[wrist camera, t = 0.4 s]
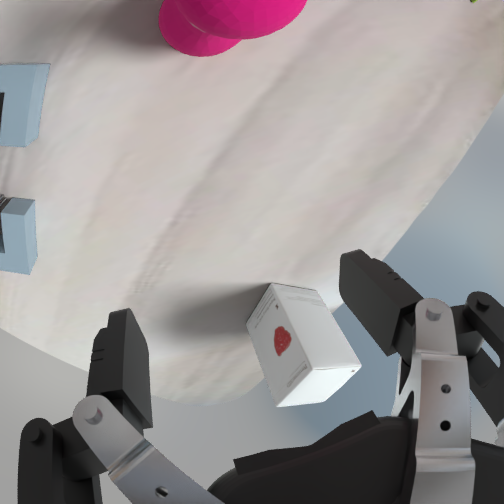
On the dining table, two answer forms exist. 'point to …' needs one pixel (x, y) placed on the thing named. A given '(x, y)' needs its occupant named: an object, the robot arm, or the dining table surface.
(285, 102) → the dining table surface
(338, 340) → the supplement box
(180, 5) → the pepper mill
